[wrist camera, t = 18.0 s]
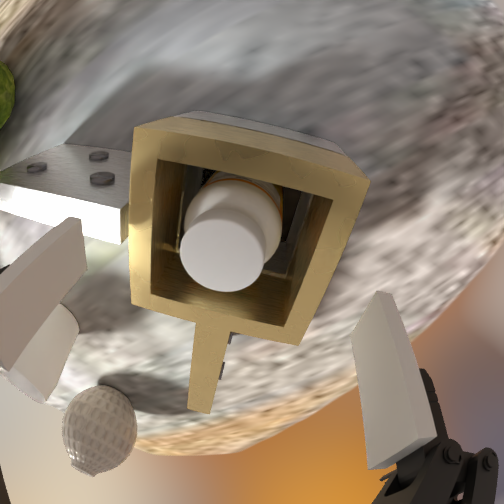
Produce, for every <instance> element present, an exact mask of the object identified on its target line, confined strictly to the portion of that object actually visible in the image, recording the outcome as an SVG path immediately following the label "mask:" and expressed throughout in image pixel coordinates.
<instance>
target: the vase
mask: <svg viewBox="0 0 504 504" xmlns="http://www.w3.org/2000/svg"><path fill="white" fill-rule="evenodd" d="M62 436H63V441H64V445H65V447H66V450H67V453H68V455H69V457H70V459H71V465H72V467H73V468H75V469H77V470H78V471H80V472H82V473H84V474H86V475H89V476H91V477H94V476H95V475H96V474H98V473H102V472H106V471H108V470H111V469H113V468H115V467H117V466H118V465H120V464H121V463H122V462H124V461H125V460H126V459H127V457H128V456H129V455H130V453H131V452H132V449H133V447H134V445H135V442H136V437H137V420H136V416H135V412H134V409H133V407H132V405H131V403H130V400H129V399H128V398H127V397H126V396H125V395H124V394H123V393H121V392H120V391H118V390H116V389H114V388H112V387H110V386H106V385H99V386H95V387H91V388H89V389H86V390H84V391H82V392H81V393H79V394H78V395H76V396H75V397H74V398H73V400H72V401H71V402H70V404H69V405H68V407H67V409H66V411H65V414H64V417H63V421H62Z"/></svg>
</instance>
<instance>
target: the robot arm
mask: <svg viewBox="0 0 504 504" xmlns="http://www.w3.org/2000/svg"><path fill="white" fill-rule="evenodd" d="M86 271H87V262H86V255H85V246H84V237H83V225H82V219H81V218H77V217H73V216H68V217H67V218H65V219H64V220H63V221H61V222H60V223H59V224H58V225H56V226H55V227H54V228H53V229H51V230H50V231H49V232H48V233H46V234H45V235H44V236H43V237H41V238H40V239H39V240H38V241H37V242H36V243H34V244H33V245H32V246H31V247H30V248H29V249H27V250H26V251H25V252H24V253H23V254H22V255H21V256H20V257H18V258H17V259H16V260H15V261H14V262H13V263H12V264H11V265H7V266H5V267H4V268H2V269H0V366H1V367H2V368H3V369H5V370H6V371H8V372H9V371H10V370H11V368H12V366H13V365H14V363H15V362H16V361H17V359H18V358H19V356H20V355H21V353H22V352H23V350H24V349H25V347H26V346H27V345H28V343H29V342H30V340H31V339H32V338H33V336H34V335H35V334H36V332H37V331H38V330H39V328H40V327H41V326H42V324H43V323H44V322H45V320H46V319H47V318H48V316H49V315H50V314H51V313H52V311H53V310H54V309H55V308H56V306H57V305H58V304H59V303H60V301H61V300H62V299H63V298H64V296H65V295H66V294H67V293H68V292H69V290H70V289H71V288H72V287H73V286H74V285H75V283H76V282H77V281H78V280H79V279H80V278H81V276H82V275H83V274H84V273H85V272H86ZM350 337H351V342H352V348H353V353H354V359H355V365H356V371H357V378H358V385H359V391H360V399H361V406H362V414H363V422H364V430H365V441H366V452H367V463H368V470H372V469H385V468H388V467H389V466H391V465H393V464H395V463H396V465H397V469H396V470H394V471H392V472H390V473H388V474H386V475H384V476H383V477H382V478H381V479H380V481H383V480H385V479H387V478H389V479H388V480H387V482H385V485H384V486H383V488H382V490H381V491H380V492H379V494H378V495H377V497H376V498H375V500H374V501H373V502H372V504H494V501H495V494H496V487H497V478H498V466H499V465H498V458H497V455H496V453H495V452H494V451H493V450H492V449H491V448H484V449H482V450H481V451H479V452H478V453H476V454H474V453H469V452H464V451H462V449H461V446H460V445H459V444H458V443H457V442H456V441H455V440H452V439H449V438H448V435H447V431H446V427H445V423H444V420H443V416H442V412H441V409H440V405H439V403H438V398H437V395H436V394H435V388H434V385H433V382H432V379H431V378H430V377H429V375H428V373H427V372H426V370H425V369H419V367H418V364H417V361H416V358H415V356H414V352H413V349H412V347H411V344H410V341H409V338H408V335H407V332H406V330H405V327H404V324H403V322H402V319H401V316H400V314H399V311H398V309H397V306H396V303H395V301H394V299H393V296H392V294H390V293H385V292H381V291H376V293H375V295H374V296H373V298H372V300H371V302H370V303H369V305H368V307H367V309H366V310H365V312H364V314H363V315H362V317H361V319H360V320H359V322H358V324H357V325H356V327H355V328H354V330H353V332H352V333H351V335H350ZM463 492H464V495H463V499H461V500H459V501H458V500H457V496H458V494H460V493H463ZM0 504H11V503H10V499H9V496H8V493H7V490H6V486H5V482H4V479H3V475H2V471H1V466H0Z"/></svg>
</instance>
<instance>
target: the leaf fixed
mask: <svg viewBox="0 0 504 504" xmlns="http://www.w3.org/2000/svg"><path fill="white" fill-rule="evenodd" d="M175 117H181V118H188V119H194V120H200V121H206V122H212V123H217V124H223V125H228V126H233V127H238V128H243V129H247V130H252V131H257V132H261V133H265V134H269V135H274V136H278V137H282V138H285V139H289V140H293V141H297V142H301V143H304V144H308V145H311V146H315V147H318V148H321V149H325V150H328V151H331V152H335V153H338V154H341V155H344V156H347V155H346V154H345V153H344V152H343V151H342V150H341V149H340V148H339V147H338V146H337V145H336V144H335V143H334V142H331V141H328V140H325V139H322V138H318V137H315V136H311V135H308V134H304V133H301V132H297V131H293V130H289V129H286V128H282V127H278V126H274V125H269V124H265V123H261V122H256V121H252V120H247V119H242V118H237V117H232V116H227V115H222V114H216V113H210V112H204V111H198V110H196V111H192V112H188V113H184V114H180V115H176V116H175ZM131 156H132V152H129V151H122V150H115V149H107V148H99V147H91V146H82V145H73V144H61V145H58V146H56V147H53V148H51V149H48V150H46V151H44V152H41V153H39V154H37V155H34V156H32V157H30V158H28V159H25V160H23V161H21V162H19V163H17V164H15V165H13V166H11V167H9V168H7V169H5V170H3V171H1V172H0V210H3V211H6V212H9V213H13V214H16V215H19V216H22V217H26V218H29V219H32V220H36V221H39V222H42V223H46V224H49V225H53V226H56V225H58V224H59V223H60V222H61V221H63V220H64V219H65V218H67V217H68V216H73V217H77V218H81V219H82V225H83V234H84V235H87V236H91V237H94V238H98V239H102V240H105V241H109V242H112V243H116V244H120V245H121V244H122V242H123V241H124V240H125V239H126V238H127V237H128V236H129V189H130V170H131ZM202 174H203V167H198V166H193V165H188V164H186V165H185V172H184V179H183V187H182V195H181V203H180V212H179V222H178V231H177V242H176V252H178V253H180V245H181V241H182V238H183V236H184V234H185V231H184V220H185V215H186V211H187V209H188V206H189V205H190V203H191V201H192V200H193V198H194V197H195V196H196V194H197V193H198V192H199V191H200V187H201V181H202ZM313 195H314V194H311V193H308V192H304V191H302V192H301V195H300V198H299V202H298V205H297V208H296V211H295V215H294V218H293V221H292V224H291V227H290V231H289V234H288V237H287V240H286V242H283V241H280V243H279V245H278V248H277V250H276V251H275V253H274V254H273V256H272V257H271V258H270V259H269V260H268V261H267V262H266V263H264V266H263V269H262V272H261V273H263V274H268V275H272V276H276V277H280V278H286V275H287V273H288V270H289V267H290V264H291V261H292V258H293V255H294V252H295V250H296V247H297V244H298V241H299V238H300V235H301V232H302V229H303V226H304V223H305V220H306V217H307V214H308V211H309V208H310V205H311V202H312V198H313Z"/></svg>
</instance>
